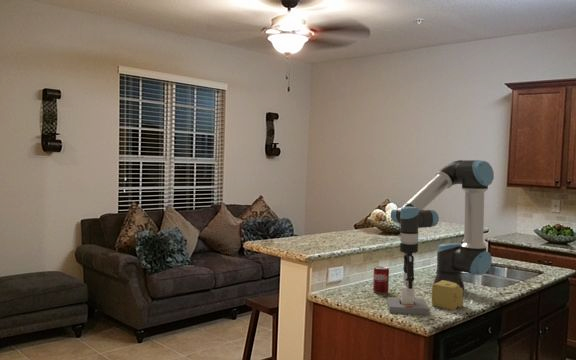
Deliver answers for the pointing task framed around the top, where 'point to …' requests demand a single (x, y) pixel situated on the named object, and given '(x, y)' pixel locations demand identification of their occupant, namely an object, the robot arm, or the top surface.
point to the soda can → (381, 280)
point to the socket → (407, 306)
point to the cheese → (447, 295)
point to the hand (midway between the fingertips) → (408, 291)
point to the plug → (404, 297)
